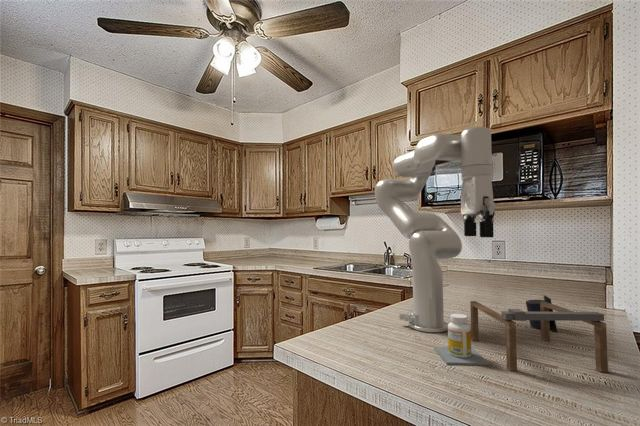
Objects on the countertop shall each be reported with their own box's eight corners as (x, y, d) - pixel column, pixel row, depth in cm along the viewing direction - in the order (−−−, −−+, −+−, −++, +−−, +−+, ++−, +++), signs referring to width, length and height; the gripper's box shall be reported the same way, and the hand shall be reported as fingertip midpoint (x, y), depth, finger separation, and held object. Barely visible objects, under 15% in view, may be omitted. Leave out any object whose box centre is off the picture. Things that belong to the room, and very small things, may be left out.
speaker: (558, 327, 104) (553, 294, 105) (557, 332, 100) (552, 298, 100) (530, 324, 109) (526, 294, 109) (528, 330, 104) (523, 298, 105)
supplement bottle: (464, 349, 85) (464, 312, 85) (475, 358, 79) (474, 318, 80) (444, 350, 84) (444, 312, 85) (454, 358, 79) (453, 318, 79)
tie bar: (507, 320, 74) (506, 311, 74) (500, 317, 77) (500, 308, 77) (605, 321, 73) (605, 312, 73) (595, 317, 76) (595, 309, 76)
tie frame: (510, 371, 73) (509, 322, 74) (471, 338, 94) (470, 301, 95) (608, 372, 72) (606, 323, 73) (546, 339, 93) (545, 301, 94)
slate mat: (446, 364, 77) (446, 362, 77) (434, 348, 87) (434, 346, 87) (489, 365, 76) (489, 363, 76) (471, 349, 86) (471, 347, 86)
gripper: (451, 178, 96) (452, 235, 95) (476, 168, 79) (478, 237, 78) (476, 178, 96) (477, 235, 95) (507, 167, 78) (509, 237, 78)
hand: (478, 236), depth 87 cm, fingers open, 9 cm apart
